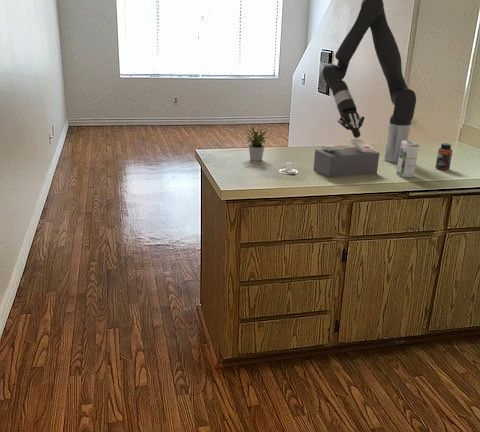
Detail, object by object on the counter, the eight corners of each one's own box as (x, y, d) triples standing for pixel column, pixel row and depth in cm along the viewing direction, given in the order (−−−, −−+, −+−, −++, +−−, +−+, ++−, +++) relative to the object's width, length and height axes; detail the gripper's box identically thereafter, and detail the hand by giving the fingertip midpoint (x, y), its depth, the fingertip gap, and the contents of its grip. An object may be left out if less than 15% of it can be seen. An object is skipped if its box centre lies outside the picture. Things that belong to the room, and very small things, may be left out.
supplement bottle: (449, 168, 236) (453, 143, 232) (449, 171, 231) (454, 146, 227) (435, 166, 238) (439, 141, 234) (435, 169, 233) (439, 144, 229)
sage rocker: (332, 150, 223) (332, 144, 223) (345, 151, 214) (345, 145, 214) (321, 151, 222) (321, 145, 221) (335, 151, 212) (335, 145, 212)
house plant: (232, 160, 234) (233, 124, 228) (243, 154, 246) (245, 119, 240) (262, 165, 229) (264, 127, 223) (272, 158, 241) (275, 122, 235)
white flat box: (359, 143, 228) (360, 138, 227) (372, 153, 221) (374, 148, 219) (349, 144, 226) (351, 139, 225) (362, 154, 219) (364, 149, 218)
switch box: (360, 166, 234) (362, 146, 231) (376, 173, 224) (379, 152, 220) (313, 170, 225) (315, 149, 222) (328, 177, 214) (330, 156, 211)
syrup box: (395, 173, 225) (400, 140, 219) (409, 173, 225) (414, 140, 220) (400, 177, 219) (405, 143, 214) (414, 177, 220) (419, 143, 215)
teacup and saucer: (296, 176, 216) (297, 166, 215) (277, 174, 218) (278, 165, 216) (298, 170, 224) (299, 161, 223) (280, 169, 226) (280, 159, 224)
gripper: (336, 98, 225) (349, 132, 219) (361, 97, 230) (375, 131, 224) (328, 108, 231) (340, 142, 225) (353, 108, 236) (366, 140, 230)
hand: (357, 136), depth 225 cm, fingers closed
